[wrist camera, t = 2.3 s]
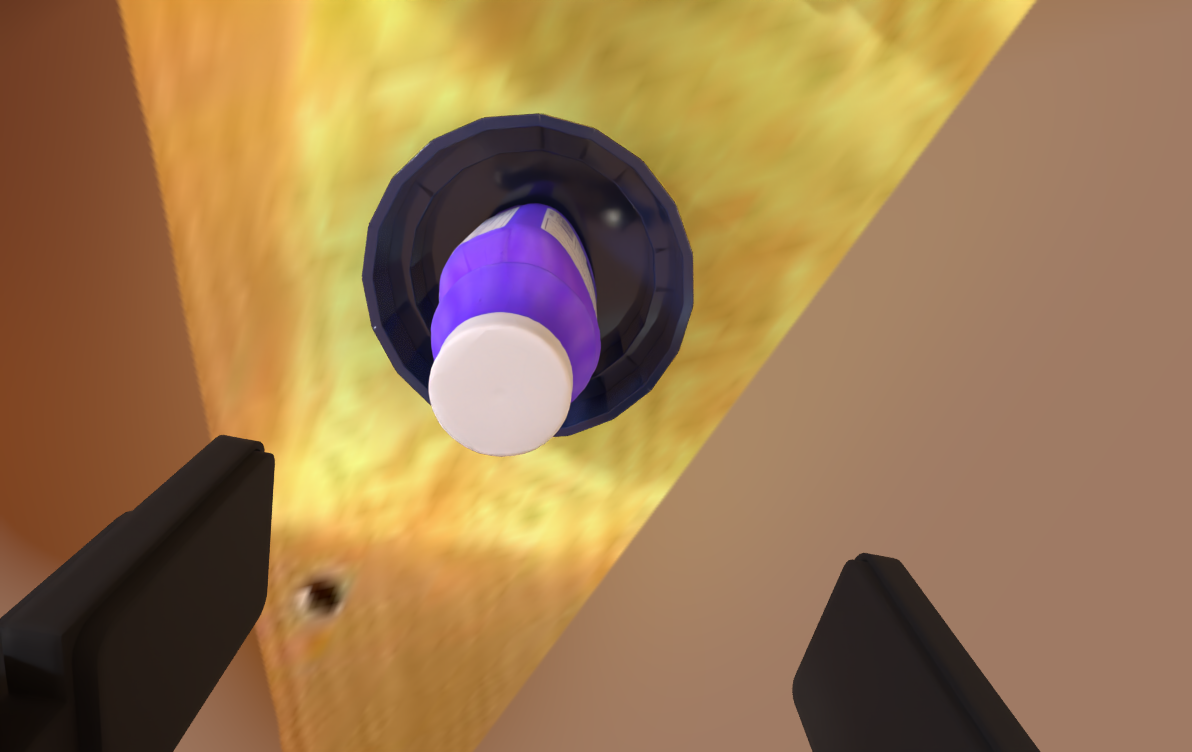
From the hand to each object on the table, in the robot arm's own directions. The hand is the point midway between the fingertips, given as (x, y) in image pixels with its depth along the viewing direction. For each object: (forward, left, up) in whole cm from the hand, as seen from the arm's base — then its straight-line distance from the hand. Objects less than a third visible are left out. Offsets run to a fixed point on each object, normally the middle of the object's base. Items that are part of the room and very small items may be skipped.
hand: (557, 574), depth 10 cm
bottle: (-2, -1, -26) cm, 26 cm away
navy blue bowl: (-2, -1, -26) cm, 26 cm away
